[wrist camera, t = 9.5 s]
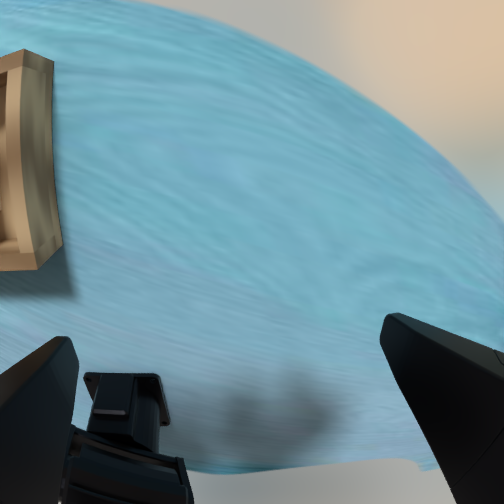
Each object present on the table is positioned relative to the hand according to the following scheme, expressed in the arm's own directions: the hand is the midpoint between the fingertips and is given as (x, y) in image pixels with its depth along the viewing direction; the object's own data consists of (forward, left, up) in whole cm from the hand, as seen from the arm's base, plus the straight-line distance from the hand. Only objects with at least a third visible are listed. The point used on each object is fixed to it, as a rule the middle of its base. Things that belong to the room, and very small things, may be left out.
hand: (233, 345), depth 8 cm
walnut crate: (+5, +17, -12) cm, 21 cm away
